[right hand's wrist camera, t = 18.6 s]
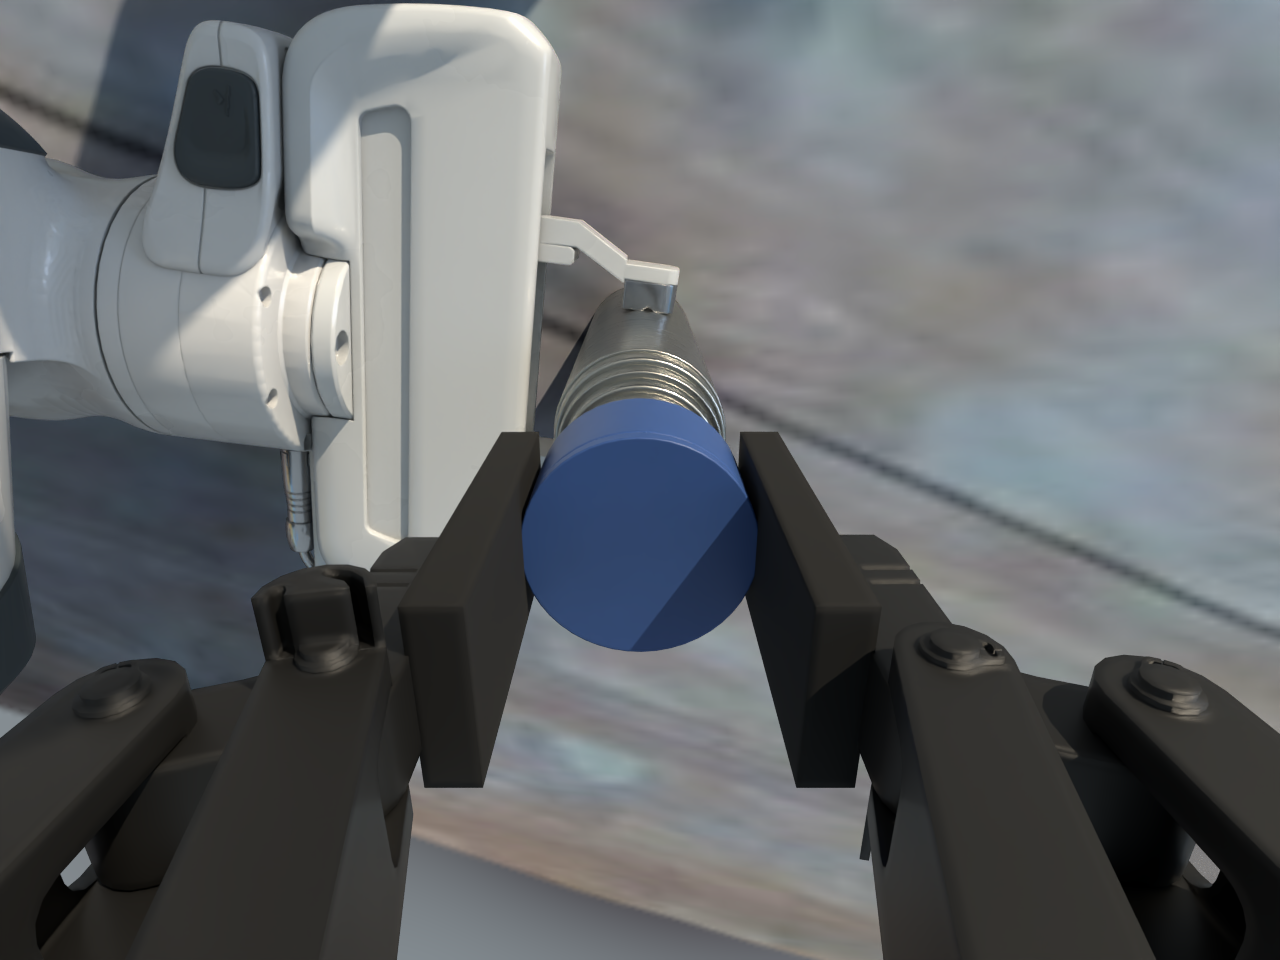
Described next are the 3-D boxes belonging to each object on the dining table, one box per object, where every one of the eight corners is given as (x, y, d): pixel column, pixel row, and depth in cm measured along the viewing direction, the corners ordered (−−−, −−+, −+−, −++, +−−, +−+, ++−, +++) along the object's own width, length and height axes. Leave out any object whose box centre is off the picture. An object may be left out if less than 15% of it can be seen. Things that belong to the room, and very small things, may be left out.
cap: (512, 545, 15) (489, 610, 13) (578, 365, 13) (565, 400, 11) (692, 607, 15) (702, 680, 13) (774, 441, 14) (801, 489, 12)
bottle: (708, 350, 31) (808, 566, 13) (626, 404, 32) (609, 677, 14) (653, 264, 30) (677, 367, 11) (569, 323, 31) (464, 505, 12)
